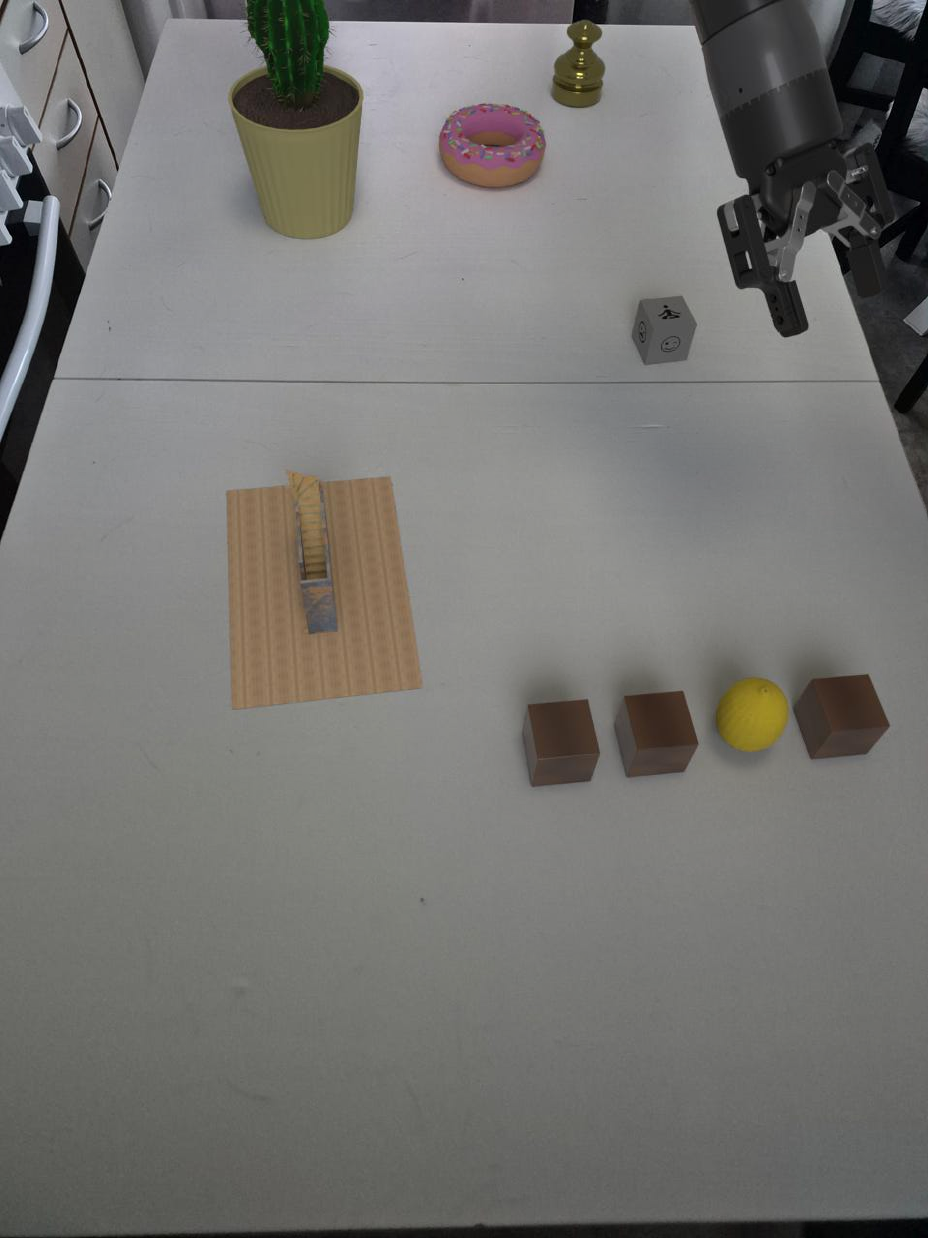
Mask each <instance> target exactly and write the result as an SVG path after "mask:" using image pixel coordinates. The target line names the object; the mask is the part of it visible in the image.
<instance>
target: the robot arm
mask: <svg viewBox="0 0 928 1238" xmlns="http://www.w3.org/2000/svg"><path fill="white" fill-rule="evenodd" d="M686 1H687V5H688V8H689V11H690V15H691V19H692V22H693V25H694V28H695V32H696V35H697V39H698V41H699V45H700V46H701V53H702V55H703V61H704V66H705V74H706V78H707V79H706V80H707V84H708V87H709V91H710V94H711V97H712V100H713V103H714V106H715V107H714V108H715V110H716V113H717V116H718V120H719V123H720V126H721V129H722V133H723V136H724V139H725V143H726V146H727V149H728V152H729V155H730V160H731V162H732V166H733V169H734V172H735V174H736V176H737V177H738V178H739V179H745V180H746V182H747V186H748V187H747V188H748V193H747V194H743V195H741V196H738V197H737V198H734V199H732V200H730V201H728V202H725V203H723V204H720V205H719V206H718V207H717V210H716V216H717V217H716V218H717V220H718V224H719V228H720V232H721V236H722V239H723V244H724V247H725V250H726V254H727V258H728V261H729V266H730V270H731V273H732V277H733V280H734V284H735V287H736V288H738V290H745V289H758V290H761V292H762V293H763V295H764V298H765V301H766V304H767V308H768V311H769V314H770V318H771V321H772V324H773V327H774V329H775V330H776V332H777V333H779V335H780V336H781V337H782V338H791V337H794V336H798V335H801V334H803V333H805V332H807V331H808V330H809V327H810V326H809V320H808V317H807V314H806V311H805V310H806V309H805V308H804V305H803V304H804V303H803V301H802V297H801V294H800V290H799V288H798V283H797V280H796V279H793V275H794V267H795V263H796V257H797V254H798V253H799V252H800V250H801V249H802V248H803V246H804V241H805V238H806V237H809V236H811V235H813V234H815V233H816V232H818V231H819V230H821V231H823V232H824V233H827V234H832V235H834V236H835V237H836V238H837V239H838V240H839V241H840V242H842V244H844V246H846V247H847V248H850V249H849V250H846V251H845V254H846V257H847V261H848V265H849V269H850V273H851V276H852V279H853V283H854V287H855V290H856V293H857V296H858V297H859V298H861V299H866V298H871V297H873V296H877V295H880V294H882V293H884V292H885V291H886V290H887V289H888V280H887V279H888V277H887V276H888V275H887V271H886V267H885V263H884V261H883V260H884V258H883V255H882V252H881V249H880V245H879V238H880V236H881V234H882V230H883V229H884V228H885V226H886V225H888V224H891V223H893V221H894V220H895V217H896V216H895V215H896V214H895V209H894V207H893V204H892V200H891V198H890V197H891V196H890V194H889V190H888V188H887V184H886V181H885V178H884V174H883V171H882V168H881V165H880V162H879V159H878V155H877V152H876V149H875V147H874V145H873V144H872V143H871V142H866V143H862V144H860V145H858V146H855V147H853V148H851V149H849V150H847V151H845V152H843V153H840V151H839V149H838V147H837V143H836V142H837V141H836V140H837V138H838V137H840V136H841V134H842V132H843V129H844V125H843V121H842V118H841V113H840V110H839V107H838V103H837V98H836V95H835V92H834V88H833V85H832V80H831V78H830V74H829V69H828V66H827V63H826V59H825V55H824V51H823V48H822V44H821V40H820V37H819V34H818V30H817V27H816V24H815V22H814V20H813V18H812V15H811V13H810V11H809V9H808V5H807V4H806V1H805V0H686ZM868 196H869V197H871V199H872V203H873V206H874V209H875V210H873V211H871V209H870V206H869V203H868V199H867V197H868ZM759 220H760V221H761V222H760V221H759ZM760 223H761V224H760ZM747 254H748V257H747ZM748 258H749V261H748ZM749 262H750V266H749ZM750 267H751V268H750ZM792 279H793V280H792Z"/></svg>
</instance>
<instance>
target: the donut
mask: <svg viewBox="0 0 928 1238" xmlns="http://www.w3.org/2000/svg"><path fill="white" fill-rule="evenodd" d="M544 133H545V129H544V128H542V127H541V121H540V120H538V119H537V117H535V116H532V114H531V113H529V112H528V110H523V109H520V108H519V107H518V106H517V107H516V106H511V105H508V104H500V103H486V102H485V103H479V104H476V105H474V104H472V105H467V106H465V107H462V108H460V109H458V110H453V112H452V113H451V114H450V115H449V116H448V117H446V118H445V121H444V124H443V126H442V128H441V130H440V133H439V135H438V150H439V153H440V156H441V158H442V161H443V163H444V164H445V166H446V168H447V170H449V171H450V172H451V173H452V174H453V175H454V176H456V177H457V178H458V179H460V180H462V181H465V182H467V183H469V184H473V185H476V186H478V187H479V186H481V187H487V188H502V187H509V186H514V185H517V184H521V183H523V182H525V181H526V180H528V179H530V178H531V177H532V176H533V175H534V174H535V173H536V172H537V171H538V170H539V167H540V166H541V164H542V161H543V159H544V156H545V153H546V147H547V142H546V137H545V134H544Z"/></svg>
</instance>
